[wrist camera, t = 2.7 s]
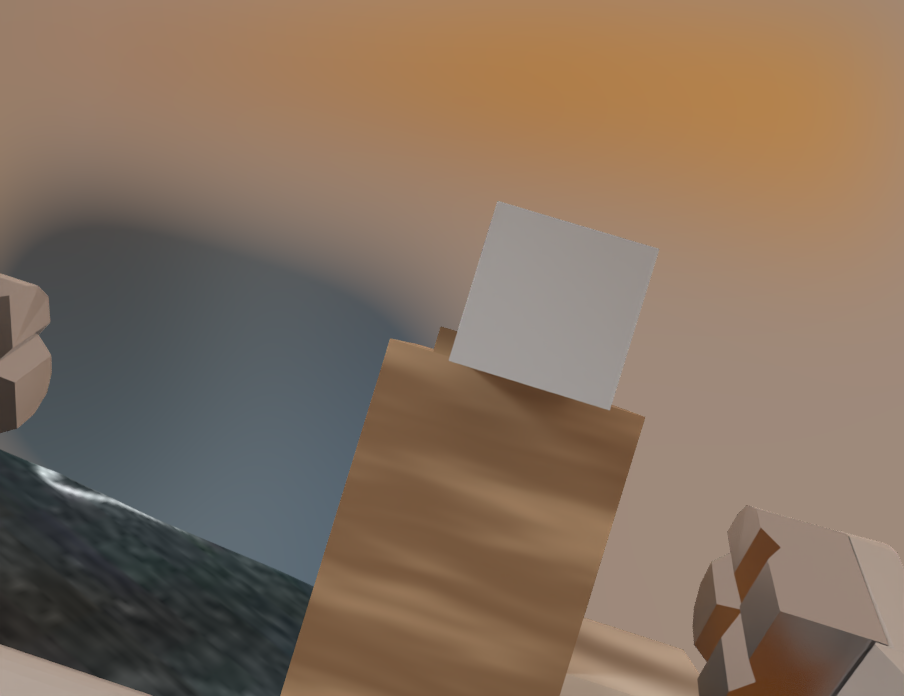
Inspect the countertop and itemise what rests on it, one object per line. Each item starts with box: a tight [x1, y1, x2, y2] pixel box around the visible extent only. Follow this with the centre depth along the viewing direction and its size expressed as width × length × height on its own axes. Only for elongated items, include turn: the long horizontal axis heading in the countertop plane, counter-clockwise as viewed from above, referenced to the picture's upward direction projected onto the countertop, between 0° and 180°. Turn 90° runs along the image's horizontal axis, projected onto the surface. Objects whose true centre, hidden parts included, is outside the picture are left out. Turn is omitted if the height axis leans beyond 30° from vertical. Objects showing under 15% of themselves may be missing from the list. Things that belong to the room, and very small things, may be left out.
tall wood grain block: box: [280, 327, 700, 696], centre depth 36 cm, size 12×16×27 cm
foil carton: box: [449, 201, 659, 410], centre depth 31 cm, size 20×4×4 cm, turn 177°
